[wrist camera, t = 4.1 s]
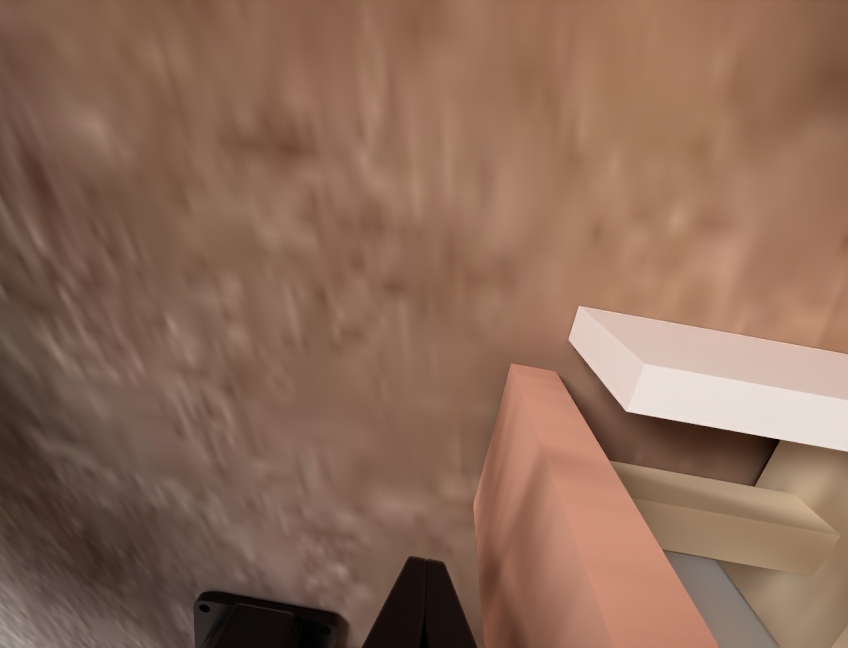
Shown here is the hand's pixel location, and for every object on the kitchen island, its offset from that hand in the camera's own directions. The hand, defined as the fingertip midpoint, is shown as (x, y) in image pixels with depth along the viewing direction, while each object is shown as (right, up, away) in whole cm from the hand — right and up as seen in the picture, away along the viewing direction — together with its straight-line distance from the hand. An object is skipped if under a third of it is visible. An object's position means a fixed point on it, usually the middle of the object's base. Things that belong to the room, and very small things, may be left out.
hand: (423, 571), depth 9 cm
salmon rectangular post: (+8, 0, +5) cm, 9 cm away
